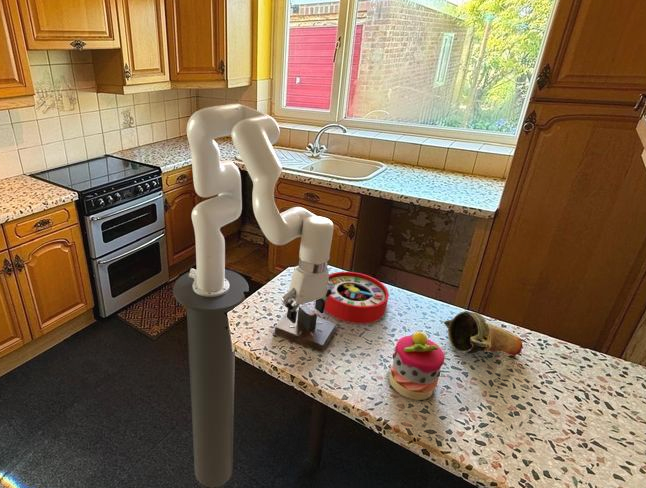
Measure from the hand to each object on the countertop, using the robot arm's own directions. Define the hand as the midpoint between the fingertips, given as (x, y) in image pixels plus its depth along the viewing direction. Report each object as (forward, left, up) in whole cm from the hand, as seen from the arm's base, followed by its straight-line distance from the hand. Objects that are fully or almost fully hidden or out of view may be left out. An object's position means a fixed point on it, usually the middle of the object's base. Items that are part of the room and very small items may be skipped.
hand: (305, 315), depth 112 cm
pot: (+42, +18, -6) cm, 46 cm away
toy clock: (+8, +21, -6) cm, 23 cm away
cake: (+30, -4, -6) cm, 30 cm away
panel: (+1, 0, -6) cm, 6 cm away
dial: (+1, 0, -3) cm, 3 cm away
